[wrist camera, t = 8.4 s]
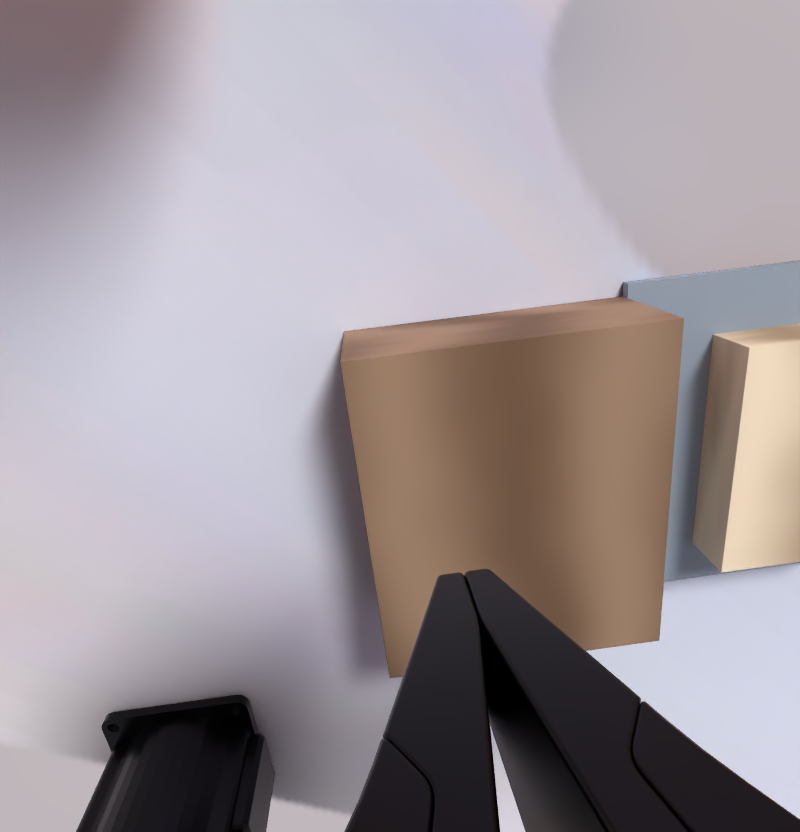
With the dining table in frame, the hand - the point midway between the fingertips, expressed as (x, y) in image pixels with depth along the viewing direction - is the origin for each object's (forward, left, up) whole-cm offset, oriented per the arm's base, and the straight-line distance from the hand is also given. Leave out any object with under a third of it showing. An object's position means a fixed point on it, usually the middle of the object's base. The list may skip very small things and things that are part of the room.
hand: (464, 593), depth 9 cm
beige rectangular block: (+14, -4, -10) cm, 18 cm away
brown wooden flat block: (+3, -4, -12) cm, 13 cm away
